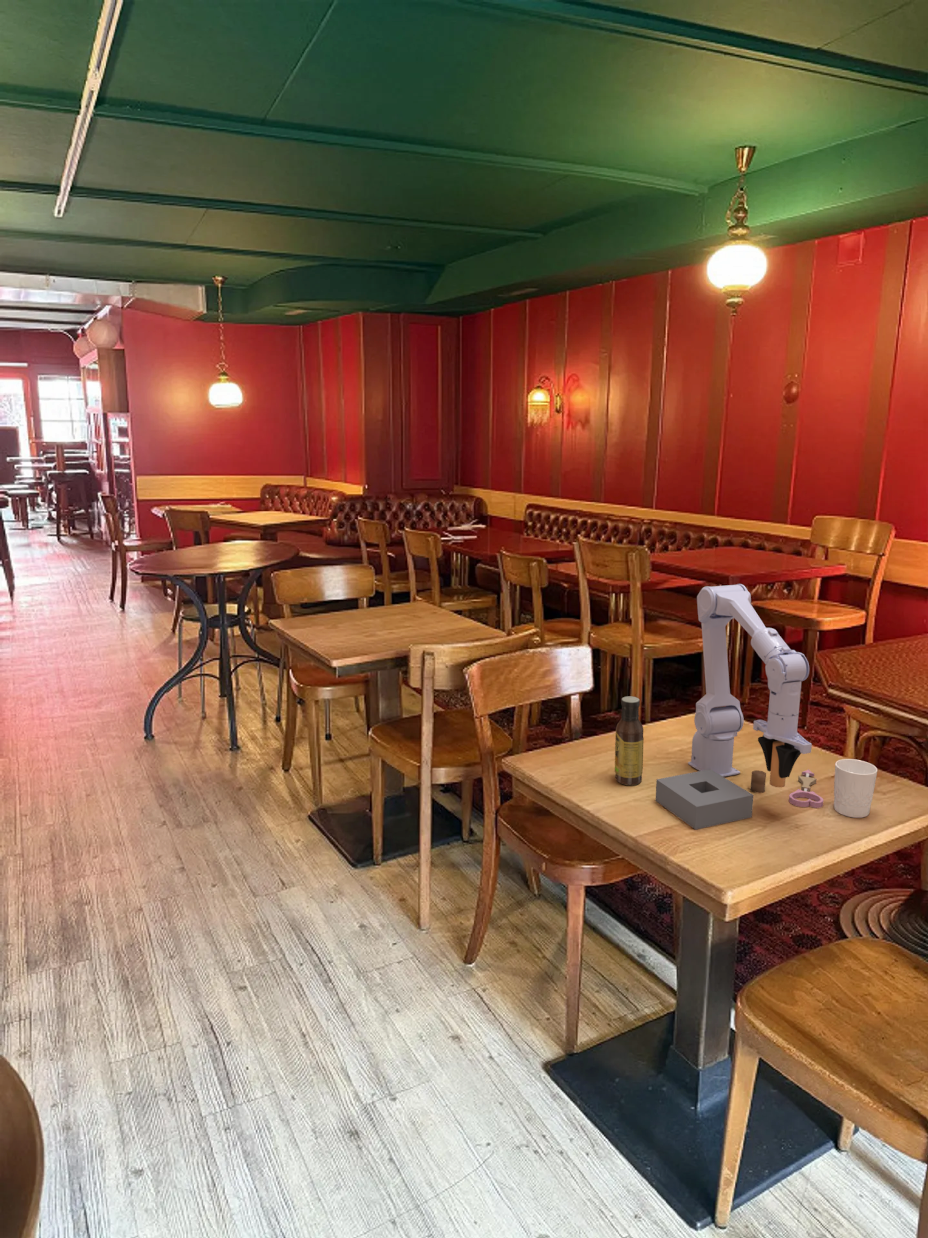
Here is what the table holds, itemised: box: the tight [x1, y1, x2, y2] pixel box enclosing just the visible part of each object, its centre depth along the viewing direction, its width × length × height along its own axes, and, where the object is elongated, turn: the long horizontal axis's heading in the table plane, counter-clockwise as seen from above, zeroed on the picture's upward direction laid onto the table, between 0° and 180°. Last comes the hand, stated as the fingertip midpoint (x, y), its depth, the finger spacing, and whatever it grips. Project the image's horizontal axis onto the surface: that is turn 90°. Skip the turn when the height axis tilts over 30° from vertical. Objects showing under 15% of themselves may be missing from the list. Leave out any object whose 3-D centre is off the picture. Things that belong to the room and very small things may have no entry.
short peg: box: [750, 770, 767, 794], centre depth 180 cm, size 3×3×4 cm
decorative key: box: [788, 768, 824, 809], centre depth 181 cm, size 7×1×20 cm
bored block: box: [655, 769, 754, 830], centre depth 172 cm, size 14×14×5 cm
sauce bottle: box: [614, 695, 645, 786], centre depth 184 cm, size 6×6×20 cm
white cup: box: [833, 758, 878, 819], centre depth 169 cm, size 8×8×10 cm
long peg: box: [769, 741, 787, 788], centre depth 168 cm, size 3×3×9 cm
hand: (778, 773), depth 168 cm, fingers closed on long peg, 3 cm apart
